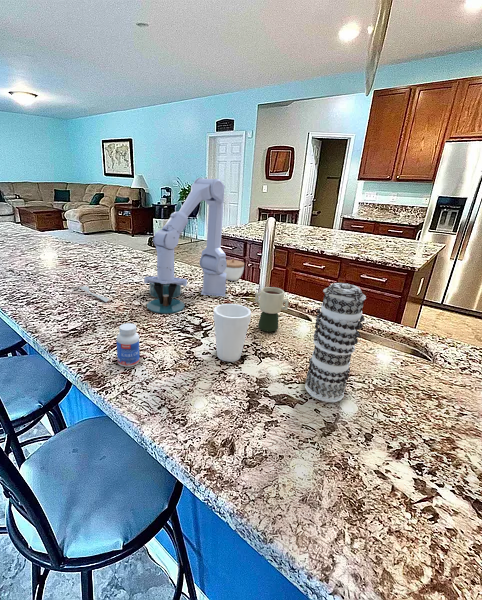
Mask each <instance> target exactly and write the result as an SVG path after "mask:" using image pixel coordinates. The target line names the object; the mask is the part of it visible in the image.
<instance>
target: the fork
mask: <svg viewBox="0 0 482 600" xmlns="http://www.w3.org/2000/svg"><path fill="white" fill-rule="evenodd" d="M78 289H80V290H82V291H85V292H86V293H88V294H90V295H91V296H94V297H96V298H98V299H99V300H101V301H102V302H104V303H108V301H109V300H110V299H109V298H108V297H105V296H103V295H100V294H99V295H98V294H95V293H93V292H91V291H90V288H89V287H88V286H86V285H83V286H80V287H79V286H78V287H76V288H75V290H78Z"/></svg>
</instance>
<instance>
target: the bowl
mask: <svg viewBox="0 0 482 600" xmlns="http://www.w3.org/2000/svg"><path fill="white" fill-rule="evenodd" d="M169 285H170V284H163V295H165V294H167V295H169V291H168V287H169ZM148 288H149V290H148V291H149V295H150V296H152V297H154V298H156V299H159V297H158V295H157V293H156V291H155V289H154V283H148ZM181 295H182V285H177V287H176V289H175V291H174V294H173V298H172V299H175V298H177V297H179V296H181Z"/></svg>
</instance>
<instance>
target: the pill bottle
mask: <svg viewBox="0 0 482 600" xmlns="http://www.w3.org/2000/svg"><path fill="white" fill-rule="evenodd" d="M118 328H119V329H118V330H119V331H118V334H117V335H116V359H117V364H118V365H119V366H121V367H125V368H129V367H130V368H131V367H134V366H136V365H138V364H139V362H140V335H139V333H138V332H137V325H136V324H134V323H133V322H132V323H131V322H127V323H122V324H120V325H119V327H118Z"/></svg>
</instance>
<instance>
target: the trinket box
mask: <svg viewBox="0 0 482 600" xmlns="http://www.w3.org/2000/svg"><path fill="white" fill-rule="evenodd" d="M226 262H227V266H226V269H225V271H224V272H223V273H226V281H233V282H234V281H238V280H239V279H240V278H241V277H242V276H243V274H244V270H245V262H244V261H241V260H238V259H237V260H236V259H235V258H232V259H226Z"/></svg>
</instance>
